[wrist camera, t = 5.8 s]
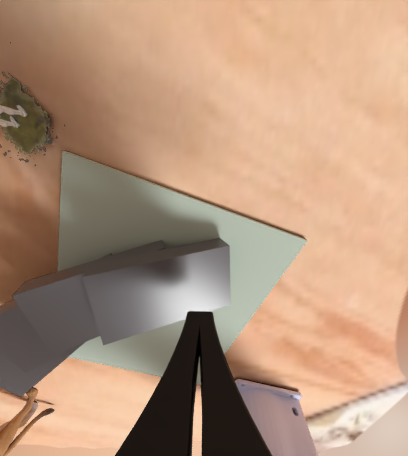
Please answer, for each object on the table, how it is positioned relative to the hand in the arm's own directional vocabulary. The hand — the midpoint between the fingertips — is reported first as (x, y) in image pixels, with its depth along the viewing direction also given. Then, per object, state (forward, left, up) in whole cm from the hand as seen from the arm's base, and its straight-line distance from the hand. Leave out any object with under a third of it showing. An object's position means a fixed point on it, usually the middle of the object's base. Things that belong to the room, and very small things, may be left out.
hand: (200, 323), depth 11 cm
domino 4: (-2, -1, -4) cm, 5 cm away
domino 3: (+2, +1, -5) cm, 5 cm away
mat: (+2, +7, -6) cm, 9 cm away
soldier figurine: (+14, -6, -6) cm, 16 cm away
